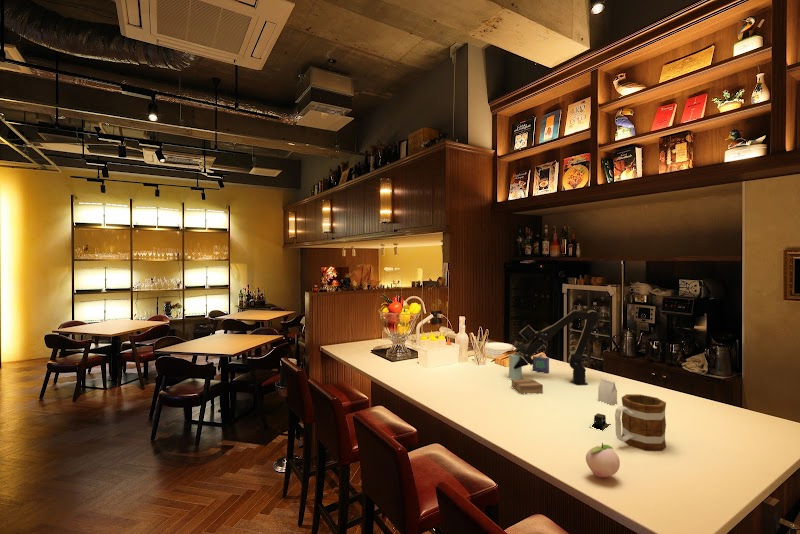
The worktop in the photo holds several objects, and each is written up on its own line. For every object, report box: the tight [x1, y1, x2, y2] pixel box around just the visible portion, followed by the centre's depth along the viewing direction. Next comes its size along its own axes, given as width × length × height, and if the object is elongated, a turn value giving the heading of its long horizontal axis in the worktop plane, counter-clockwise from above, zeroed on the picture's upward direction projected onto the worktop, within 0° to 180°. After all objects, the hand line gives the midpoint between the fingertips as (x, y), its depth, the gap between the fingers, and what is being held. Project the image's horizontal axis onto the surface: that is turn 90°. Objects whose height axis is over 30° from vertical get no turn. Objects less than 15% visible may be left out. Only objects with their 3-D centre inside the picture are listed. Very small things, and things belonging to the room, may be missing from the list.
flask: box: [532, 353, 550, 374], centre depth 237 cm, size 9×3×11 cm, turn 61°
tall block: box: [508, 353, 523, 381], centre depth 222 cm, size 5×5×13 cm
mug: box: [614, 393, 667, 452], centre depth 141 cm, size 20×14×15 cm
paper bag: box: [597, 378, 618, 406], centre depth 185 cm, size 4×7×10 cm, turn 24°
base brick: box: [511, 378, 544, 395], centre depth 202 cm, size 11×11×4 cm
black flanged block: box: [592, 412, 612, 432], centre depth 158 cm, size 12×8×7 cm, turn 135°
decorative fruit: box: [585, 442, 621, 479], centre depth 119 cm, size 9×8×10 cm
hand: (512, 367), depth 222 cm, fingers closed on tall block, 5 cm apart
